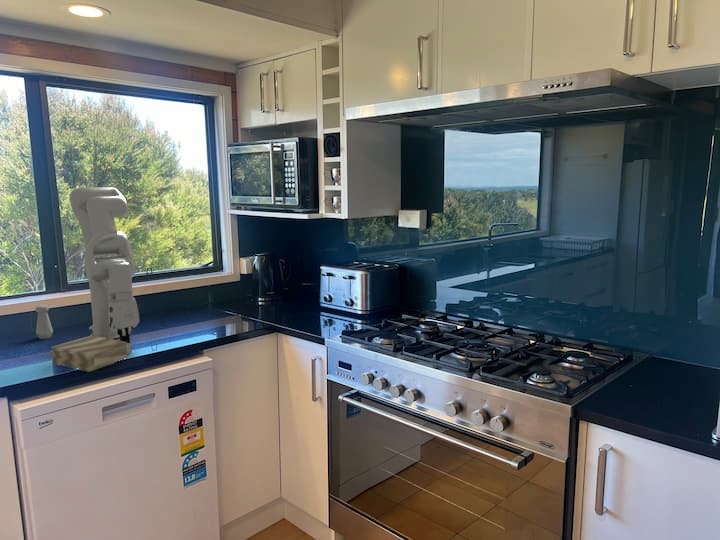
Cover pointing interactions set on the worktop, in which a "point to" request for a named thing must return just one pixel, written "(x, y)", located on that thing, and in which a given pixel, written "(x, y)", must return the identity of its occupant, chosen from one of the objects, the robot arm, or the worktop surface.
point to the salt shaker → (43, 323)
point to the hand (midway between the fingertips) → (125, 345)
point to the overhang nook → (89, 353)
